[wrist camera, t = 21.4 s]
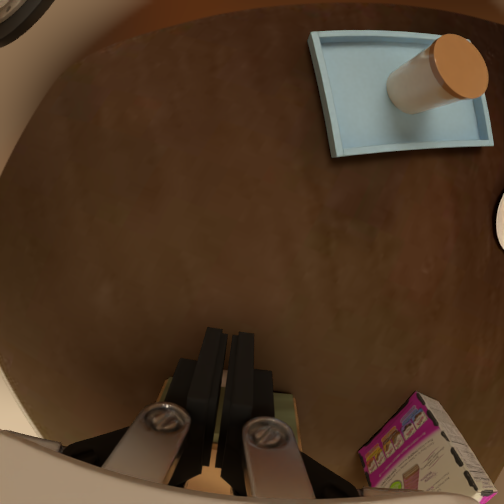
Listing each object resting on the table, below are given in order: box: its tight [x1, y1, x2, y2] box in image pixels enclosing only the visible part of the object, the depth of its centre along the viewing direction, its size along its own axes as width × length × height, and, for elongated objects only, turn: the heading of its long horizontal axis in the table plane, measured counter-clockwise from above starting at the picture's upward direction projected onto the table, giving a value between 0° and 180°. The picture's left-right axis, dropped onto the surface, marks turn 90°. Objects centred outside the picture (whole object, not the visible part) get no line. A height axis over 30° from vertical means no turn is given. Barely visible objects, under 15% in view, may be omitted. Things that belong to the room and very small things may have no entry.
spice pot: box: [386, 34, 488, 115], centre depth 19 cm, size 5×5×9 cm
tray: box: [308, 30, 494, 158], centre depth 23 cm, size 16×11×2 cm, turn 100°
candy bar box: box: [358, 391, 498, 504], centre depth 24 cm, size 11×5×16 cm, turn 151°
